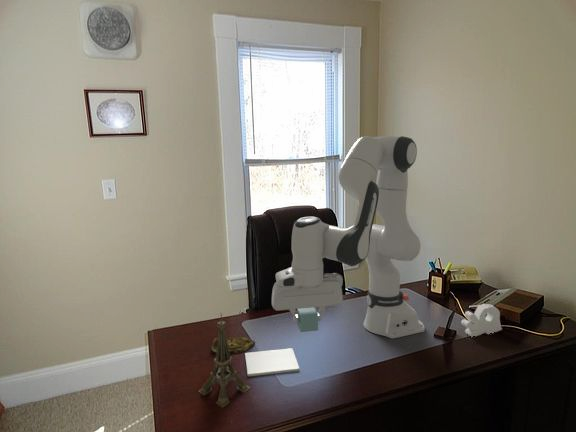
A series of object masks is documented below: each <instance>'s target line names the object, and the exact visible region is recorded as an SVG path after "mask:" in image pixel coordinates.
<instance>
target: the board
mask: <svg viewBox="0 0 576 432" xmlns="http://www.w3.org/2000/svg"><path fill="white" fill-rule="evenodd" d="M293 349H294V348H292V347H291V348H290V347H288V348H281V349H271V350H261V351H250V352H244V356H245V363H246V364H245V365H246V373H247V374H246V375H247V377H257V376H262V375H263V376H267V375H274V374H283V373H284V374H285V373H291V372H300V366H299V363H298V359H297V356H296V355H295V352H294V350H293Z"/></svg>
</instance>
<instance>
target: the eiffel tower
mask: <svg viewBox="0 0 576 432" xmlns="http://www.w3.org/2000/svg"><path fill="white" fill-rule="evenodd" d="M222 316H223V315H222V313H220V321H218V322H217V323H216V327H217V328H218V333H217V338H218V345H217V353H216V354H215V355H216V356H215V358H214V359H213V362H214V367H213V370H212V372H210V377H208V380H206V382H205V383H204V384H203V385H202V387H201V388H200V389H199V390H197V392H198V393H199V394H201V395H202V396H206V395H207V394H209V393H211V392H212V391H213V390H212V388H213V386H214V384H215V383H217V384H218V385H219V386H220V389H219V395H218V399H217V400H216V402H215V404H216V405H217V406H220V408H224V407H226V406H228V404H230V403H231V401H230V399H229V397H228V392H227V387H226V386H227V385H228V384H229V383H230V382H234V384H235V385H236V389H237V391H239V392H241V393H243V394H244V393H246V392H247V391H249V390H250V389H251V387H250V386H249V385H247V384H246V382H245V381H244V380H243V379H242V378H241V377H240V376H239V375H238V374H237V372H238V371H237V370H235V368H234V366H233V363H232V361H233V357H232V356H230V355H231V354H229V350H228V344H227V339H228V338H227V334H226V333H227V332H226V329H225V328H226V327H228V325H227V322H226V321H224V320H223V317H222Z"/></svg>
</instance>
